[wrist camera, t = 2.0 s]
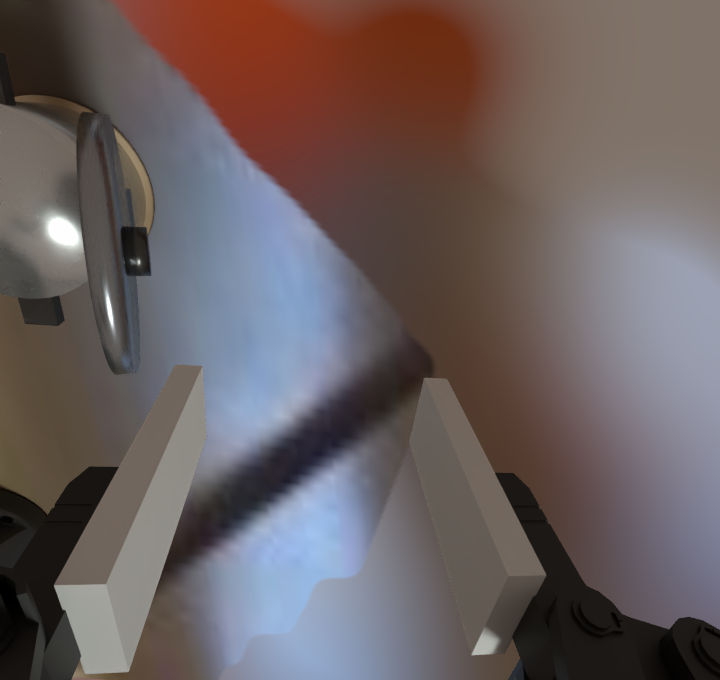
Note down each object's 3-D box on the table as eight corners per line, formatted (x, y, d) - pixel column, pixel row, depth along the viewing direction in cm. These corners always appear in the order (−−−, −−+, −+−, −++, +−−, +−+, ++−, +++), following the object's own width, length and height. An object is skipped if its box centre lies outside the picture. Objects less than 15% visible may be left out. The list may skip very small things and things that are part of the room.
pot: (7, 286, 38) (-61, 324, 31) (-61, 47, 30) (-174, 26, 23) (166, 298, 40) (135, 336, 33) (144, 77, 32) (97, 66, 25)
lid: (115, 426, 21) (162, 419, 22) (57, 118, 15) (128, 126, 16) (127, 308, 33) (158, 306, 34) (98, 107, 26) (137, 111, 27)
